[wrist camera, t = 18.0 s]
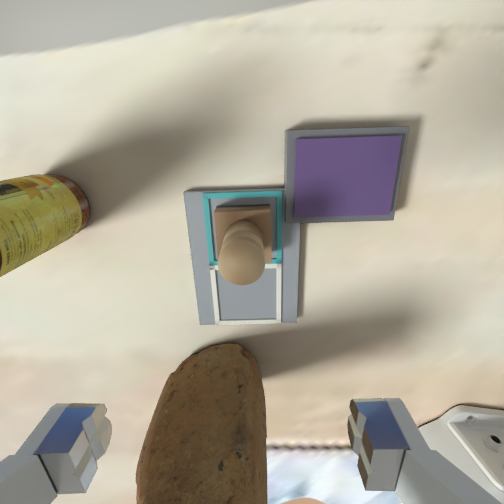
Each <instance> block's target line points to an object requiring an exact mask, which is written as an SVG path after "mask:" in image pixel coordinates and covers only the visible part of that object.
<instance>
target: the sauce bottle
mask: <svg viewBox="0 0 504 504" xmlns="http://www.w3.org/2000/svg"><path fill="white" fill-rule="evenodd" d="M89 209H90V206H89V204H88V201H87V198H86V197H85V195H84V193H83V192H82V191H81V189H80V188H79V187H78V186H77V185H76V184H75V183H73V182H72V181H70V180H68V179H67V178H64V177H62V176H57V175H30V176H24V177H19V178H14V179H8V180H3V181H0V277H1V276H3V275H5V274H6V273H8V272H10V271H12V270H14V269H15V268H17V267H19V266H21V265H23V264H24V263H26V262H28V261H30V260H32V259H34V258H35V257H37V256H39V255H41V254H43V253H44V252H46V251H48V250H50V249H52V248H54V247H55V246H57V245H59V244H61V243H62V242H64V241H66V240H68V239H69V238H71V237H73V236H74V235H75V234H77V233H78V232H79V231H81V230H82V229H83V228H84V227H85V225H86V223H87V221H88V219H89V216H90V210H89Z"/></svg>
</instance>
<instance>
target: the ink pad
mask: <svg viewBox="0 0 504 504" xmlns="http://www.w3.org/2000/svg"><path fill="white" fill-rule="evenodd" d="M408 131H409V126H399V127H371V128H342V129H314V130H287V131H285V174H284V188H285V222H286V224H288V223H321V222H354V221H388V220H394V214H395V208H396V202H397V196H398V190H399V184H400V178H401V172H402V166H403V160H404V155H405V149H406V143H407V137H408Z"/></svg>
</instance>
